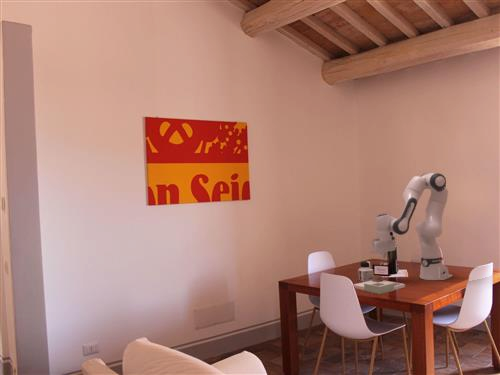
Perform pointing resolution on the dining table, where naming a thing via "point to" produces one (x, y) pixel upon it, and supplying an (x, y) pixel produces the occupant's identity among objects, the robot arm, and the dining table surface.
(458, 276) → the dining table surface
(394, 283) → the trap board
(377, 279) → the block
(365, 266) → the container
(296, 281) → the dining table surface
